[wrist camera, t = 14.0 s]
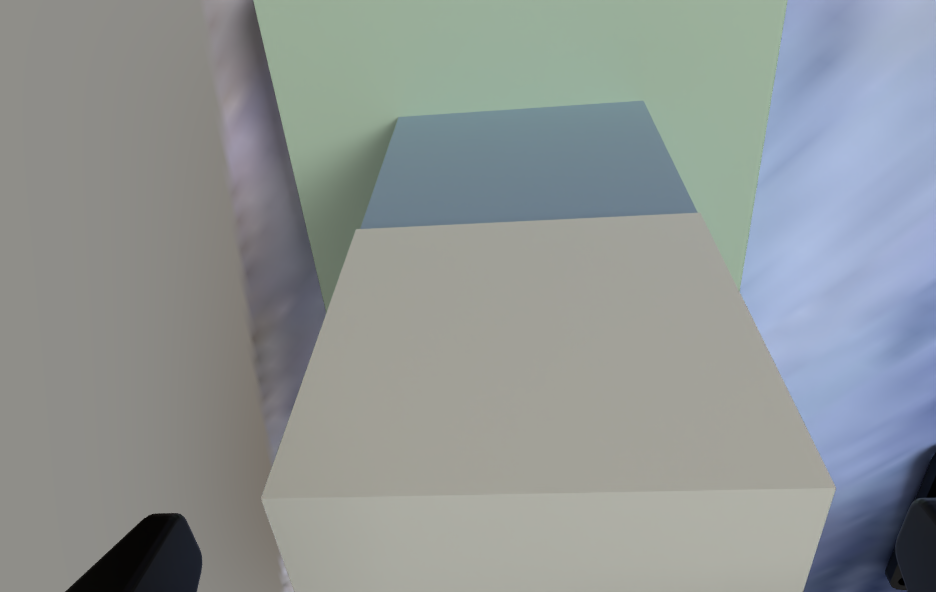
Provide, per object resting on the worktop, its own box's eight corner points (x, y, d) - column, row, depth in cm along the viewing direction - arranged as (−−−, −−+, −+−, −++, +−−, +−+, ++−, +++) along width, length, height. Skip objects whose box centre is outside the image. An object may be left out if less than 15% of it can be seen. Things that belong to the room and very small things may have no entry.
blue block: (631, 303, 17) (672, 459, 13) (426, 312, 17) (402, 467, 13) (642, 100, 14) (700, 217, 10) (398, 117, 15) (358, 235, 11)
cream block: (670, 456, 13) (749, 759, 9) (400, 462, 13) (353, 755, 9) (700, 212, 10) (836, 488, 6) (356, 229, 11) (261, 499, 6)
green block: (714, 348, 19) (725, 377, 18) (352, 361, 20) (344, 390, 19) (773, -57, 14) (795, -48, 13) (268, -18, 14) (251, -6, 13)
